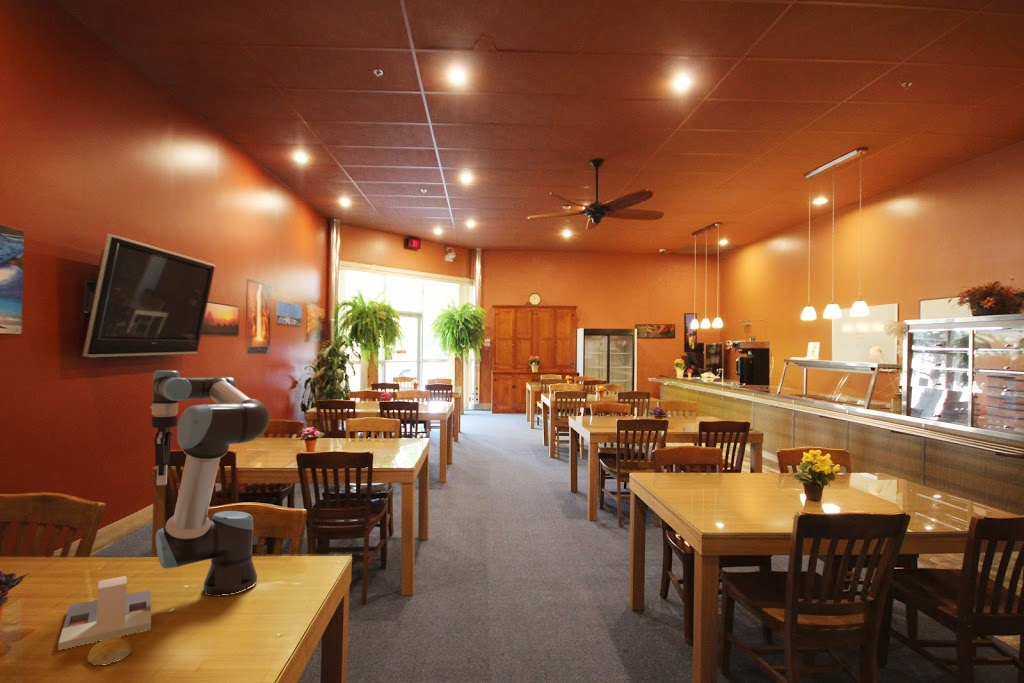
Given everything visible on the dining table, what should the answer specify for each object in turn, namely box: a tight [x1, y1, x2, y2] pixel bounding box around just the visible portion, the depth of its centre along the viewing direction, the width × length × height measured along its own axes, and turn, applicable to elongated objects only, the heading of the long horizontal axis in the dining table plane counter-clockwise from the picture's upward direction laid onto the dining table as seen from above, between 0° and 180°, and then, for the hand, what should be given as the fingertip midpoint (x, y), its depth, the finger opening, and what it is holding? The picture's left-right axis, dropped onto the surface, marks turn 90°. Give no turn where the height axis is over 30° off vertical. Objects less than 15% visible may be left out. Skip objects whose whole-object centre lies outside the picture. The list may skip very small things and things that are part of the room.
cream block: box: [96, 575, 128, 632], centre depth 141 cm, size 6×6×11 cm
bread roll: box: [86, 637, 133, 666], centre depth 130 cm, size 8×9×4 cm
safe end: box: [57, 609, 152, 651], centre depth 140 cm, size 8×19×2 cm, turn 125°
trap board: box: [62, 589, 152, 629], centre depth 150 cm, size 16×19×2 cm
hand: (161, 484), depth 182 cm, fingers closed
